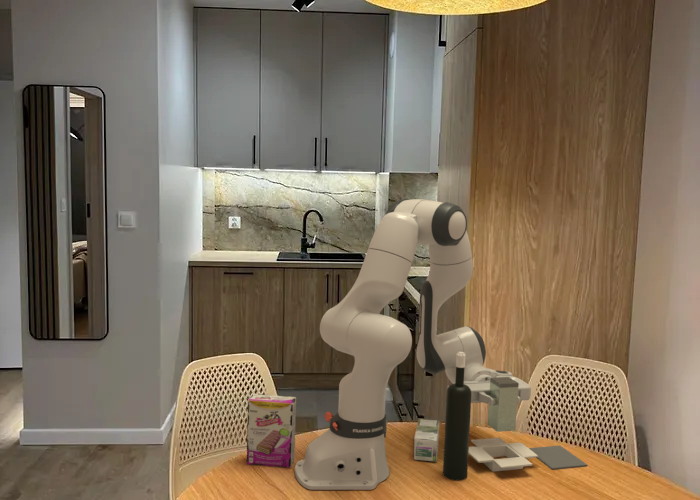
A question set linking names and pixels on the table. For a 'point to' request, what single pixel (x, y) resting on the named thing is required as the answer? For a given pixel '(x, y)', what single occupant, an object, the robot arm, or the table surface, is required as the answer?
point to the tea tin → (503, 404)
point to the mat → (557, 457)
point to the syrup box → (426, 440)
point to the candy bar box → (271, 430)
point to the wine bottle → (457, 425)
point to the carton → (501, 454)
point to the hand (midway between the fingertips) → (505, 401)
